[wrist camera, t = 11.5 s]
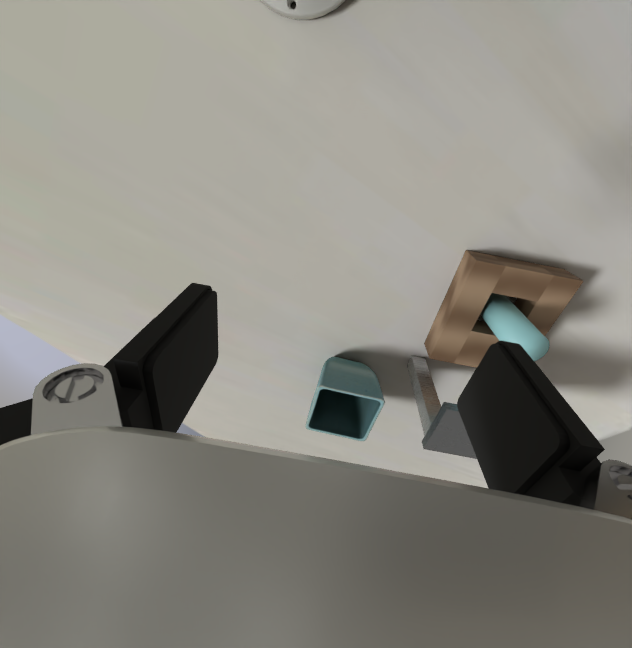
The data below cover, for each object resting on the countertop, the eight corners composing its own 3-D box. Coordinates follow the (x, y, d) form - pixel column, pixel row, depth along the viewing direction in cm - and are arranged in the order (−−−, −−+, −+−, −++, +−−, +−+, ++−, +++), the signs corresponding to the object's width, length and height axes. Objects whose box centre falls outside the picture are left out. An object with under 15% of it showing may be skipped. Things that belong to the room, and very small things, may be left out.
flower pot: (362, 396, 50) (365, 443, 43) (311, 384, 50) (304, 429, 42) (380, 356, 46) (386, 401, 38) (323, 343, 45) (318, 385, 38)
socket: (466, 250, 36) (476, 260, 33) (564, 269, 36) (583, 281, 33) (424, 343, 43) (429, 358, 41) (505, 358, 44) (517, 375, 41)
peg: (483, 288, 38) (521, 331, 30) (511, 293, 38) (557, 338, 30) (471, 312, 40) (503, 359, 32) (497, 317, 40) (536, 365, 32)
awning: (418, 330, 42) (446, 409, 30) (523, 350, 42) (593, 437, 30) (403, 365, 46) (423, 448, 34) (500, 383, 46) (555, 473, 34)
